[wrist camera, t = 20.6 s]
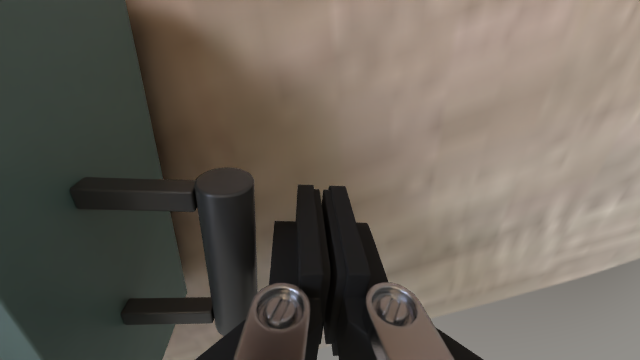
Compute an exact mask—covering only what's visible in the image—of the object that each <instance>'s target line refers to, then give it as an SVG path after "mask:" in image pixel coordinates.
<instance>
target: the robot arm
mask: <svg viewBox="0 0 640 360" xmlns="http://www.w3.org/2000/svg"><path fill="white" fill-rule="evenodd" d="M323 326H324V335H325V343H326V344H332V351H333V356H337V355H339V360H483V359H482V358H480V357H479V356H477V355H476V354H474V353H473V352H471V351H470V350H468V349H467V348H465V347H464V346H462V345H461V344H459V343H458V342H456V341H455V340H453V339H452V338H451V337H449V336H448V335H446V334H445V333H443V332H442V331H440V330H438V329H437V328H436V327H435V326H434V325H433V323H432V321H431V319H430V318H429V316H428V314H427V313H426V311H425V309H424V308H423V306H422V304H421V303H420V301H419V300H418V299H417V297H416V296H415V295H414V294H413V293H412V292H411V291H409V290H408V289H407V288H405V287H403V286H401V285H399V284H395V283H391V282H388V279H387V277H386V274H385V271H384V268H383V265H382V262H381V259H380V256H379V254H378V251H377V248H376V245H375V242H374V239H373V236H372V233H371V230H370V228H369V225H368V224H367V223H356V221H355V217H354V214H353V211H352V207H351V204H350V200H349V197H348V193H347V190H346V187H345V186H329V190H323V196H322V205H321V198H320V191H319V189H314V186H313V185H298V189H297V206H296V222H294V221H275V223H274V234H273V245H272V257H271V268H270V279H269V285H268V286H266V287H265V288H263V289H261V290H260V291H259V292H258V293H257V294H256V295H255V296H254V298H253V300H252V302H251V305H250V308H249V311H248V314H247V317H246V319H245V320H244V321H242V322H241V323H240V324H239V325H237V326H236V327H235V328H234V329H232V330H231V331H230V332H229V333H228V334H226V335H225V336H224V337H223V338H221V339H220V340H219V341H218V342H216V343H215V344H214V345H213V346H211V347H210V348H209V349H208V350H206V351H205V352H204V353H203V354H201V355H200V356H199V357H198V358H197V359H195V360H317V353H318V347H319V344H321V339H322V332H323Z"/></svg>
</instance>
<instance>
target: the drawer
mask: <svg viewBox="0 0 640 360" xmlns="http://www.w3.org/2000/svg"><path fill="white" fill-rule="evenodd" d="M197 207H198V214H199V221H200V227H201V234H202V240H203V247H204V253H205V260H206V267H207V273H208V280H209V286H210V293H211V297H197V298H185V297H186V294H187V289H186V284H185V280H184V275H183V270H182V265H181V261H180V256H179V251H178V247H177V242H176V237H175V232H174V228H173V223H172V218H171V214H170V211H178V212H194V211H196V209H197ZM257 293H258V292H257V258H256V224H255V190H254V179H253V177H252V175H251V174H250V173H248V172H247V171H244V170H242V169H237V168H218V169H213V170H210V171H207V172H205V173H203V174H201V175H200V176H199V177H198V178H197V179H196V181H194V180H164V179H163V176H162V171H161V166H160V162H159V157H158V152H157V148H156V143H155V138H154V134H153V129H152V124H151V119H150V115H149V110H148V105H147V101H146V96H145V91H144V86H143V82H142V77H141V72H140V68H139V63H138V58H137V53H136V49H135V44H134V39H133V35H132V30H131V25H130V20H129V16H128V11H127V6H126V2H125V0H0V360H162V359H163V356H164V354H165V351H166V348H167V346H168V343H169V340H170V338H171V335H172V332H173V329H174V327H175V324H205V323H213V321H214V319H215V326H216V329H217V330H218V332H219V333H220V334H222V335H223V336H225V335H226V334H228V333H229V332H230V331H231V330H232V329H234V328H235V327H236V326H237V325H239V324H240V323H241V322H242V321H244V320H245V319H246V317H247V314H248V311H249V308H250V305H251V302H252V300H253V298H254V296H255V295H256V294H257Z"/></svg>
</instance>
